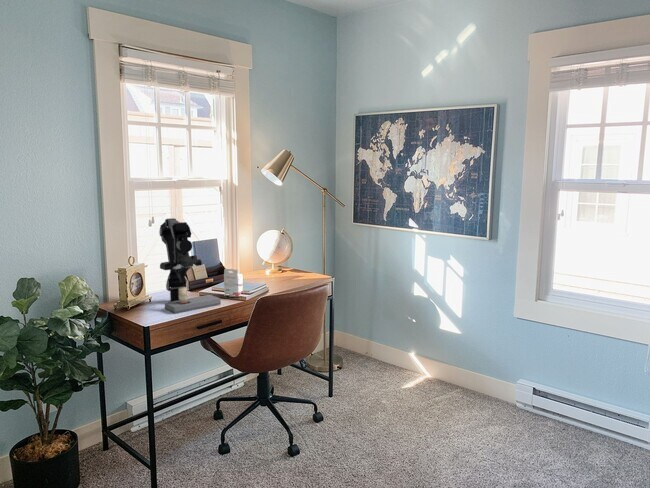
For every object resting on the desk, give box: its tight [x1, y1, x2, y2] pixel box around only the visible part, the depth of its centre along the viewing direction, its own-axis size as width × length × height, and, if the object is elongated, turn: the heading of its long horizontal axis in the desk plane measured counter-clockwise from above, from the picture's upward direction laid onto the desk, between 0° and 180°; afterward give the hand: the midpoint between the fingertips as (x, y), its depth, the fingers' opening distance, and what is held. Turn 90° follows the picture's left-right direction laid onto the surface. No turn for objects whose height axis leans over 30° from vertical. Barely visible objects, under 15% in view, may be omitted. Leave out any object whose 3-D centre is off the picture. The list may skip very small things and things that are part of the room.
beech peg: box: [178, 286, 189, 305], centre depth 247 cm, size 4×4×9 cm
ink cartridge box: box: [223, 268, 244, 296], centre depth 270 cm, size 9×5×15 cm, turn 68°
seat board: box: [164, 294, 222, 315], centre depth 251 cm, size 10×24×3 cm, turn 133°
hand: (181, 282), depth 247 cm, fingers closed
